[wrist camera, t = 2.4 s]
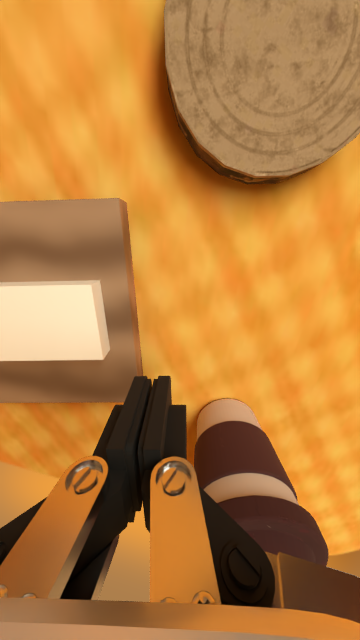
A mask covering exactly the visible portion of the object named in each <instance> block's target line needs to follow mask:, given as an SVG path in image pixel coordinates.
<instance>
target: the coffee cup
mask: <svg viewBox="0 0 360 640" xmlns="http://www.w3.org/2000/svg"><path fill="white" fill-rule="evenodd" d="M194 470H195V472H196V476H197V481H198V485H199V486H200V487H201V488H202V489H203V490H204V491H205V492H206V493H207V494H208V495H209V496H210V497H211V498H212V499H213V500H214V501H215V502H216V503H217V504H218V505H219V506H220V507H221V508H222V509H223V510H224V511H225V512H226V513H227V514H228V515H229V516H230V517H231V518H233V519H234V520H235V521H236V522H237V523H238V524H239V525H240V526H241V527H242V528H243V529H244V530H245V531H246V532H247V533H248V534H249V535H250V536H251V537H252V538H253V539H254V540H255V541H256V542H257V543H258V544H259V545H260V547H261V548H262V549H263V550H264V551H265V552H268V553H271V554H275V555H278V552H281V553H284V554H287V555H291V556H294V557H297V558H300V559H303V560H307V561H310V562H313V563H316V564H319V565H323V566H326V565H327V561H328V548H327V545H326V543H325V540H324V538H323V536H322V534H321V532H320V530H319V527H318V525H317V523H316V521H315V520H314V518H313V517H312V516H311V514H310V513H309V512H308V511H306V510H305V509H304V508H302V507H301V506H299V504H298V502H297V496H296V493H295V490H294V488H293V486H292V484H291V482H290V480H289V478H288V476H287V474H286V472H285V470H284V468H283V466H282V464H281V462H280V460H279V458H278V456H277V454H276V452H275V450H274V448H273V446H272V444H271V442H270V441H269V439H268V437H267V435H266V434H265V433H264V432H263V431H262V429H261V427H260V425H259V423H258V421H257V419H256V417H255V415H254V413H253V411H252V410H251V409H250V408H249V407H248V406H247V405H246V404H244V403H243V402H241V401H238V400H235V399H220V400H216V401H214V402H211V403H210V404H208V405H207V406H206V407H204V408H203V410H202V411H201V412H200V414H199V417H198V420H197V442H196V445H195V455H194Z"/></svg>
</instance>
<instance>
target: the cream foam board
mask: <svg viewBox="0 0 360 640" xmlns="http://www.w3.org/2000/svg"><path fill="white" fill-rule="evenodd" d="M109 351H110V346H109V339H108V332H107V326H106V319H105V312H104V305H103V298H102V292H101V285H100V280H88V281H42V282H0V361H45V360H103V359H104V358H105V357H106V355H107V354H108V352H109Z"/></svg>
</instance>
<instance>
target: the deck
mask: <svg viewBox="0 0 360 640" xmlns="http://www.w3.org/2000/svg"><path fill="white" fill-rule="evenodd" d="M88 280H100V285H101V292H102V298H103V305H104V312H105V319H106V326H107V332H108V339H109V346H110V351H109V352H108V354H107V355H106V357H105V358H104V359H103V360H45V361H0V403H71V402H125V399H126V397H127V394H128V392H129V389H130V387H131V384H132V381H133V379H134V377H135V376H143V370H142V360H141V350H140V339H139V329H138V318H137V308H136V297H135V287H134V276H133V266H132V255H131V245H130V234H129V224H128V213H127V203H126V202H124V201H123V200H121V199H119V198H108V199H77V200H46V201H14V202H0V282H42V281H88Z"/></svg>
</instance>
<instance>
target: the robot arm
mask: <svg viewBox="0 0 360 640" xmlns="http://www.w3.org/2000/svg"><path fill="white" fill-rule="evenodd" d="M186 441H187V434H186V405H172V400H171V378H170V376H159V377H158V379H154V381H153V385H152V382H151V379H147V376H135V377H134V379H133V381H132V384H131V387H130V389H129V392H128V394H127V397H126V399H125V402H124V404H123V405H115V406H114V408H113V410H112V413H111V415H110V417H109V419H108V422H107V424H106V426H105V428H104V431H103V433H102V435H101V437H100V440H99V442H98V444H97V446H96V449H95V451H94V453H93V455H92V456H88V457H84V458H82V459H80V460H78V461H76V462H75V463H73V464H72V465H71V466H69V468H68V469H67V470H66V471H65V472H64V474H63V475H62V477H61V478H60V480H59V481H58V482H57V484H56V485H55V487H54V488H53V490H52V491H51V493H50V494H49V496H48V497H46V498H45V499H43V500H42V501H40V502H39V503H38V504H36V505H35V506H33V507H32V508H30V509H29V510H27V511H26V512H25V513H23V514H21V515H20V516H18V517H17V518H15V519H14V520H12V521H11V522H10V523H8V524H7V525H5V526H4V527H2V528H1V529H0V640H360V578H359V577H357V576H355V575H351V574H348V573H345V572H342V571H339V570H335V569H332V568H329V567H326V566H323V565H319V564H316V563H313V562H310V561H307V560H303V559H300V558H297V557H294V556H291V555H287V554H284V553H281V552H278V555H275V554H271V553H268V552H265V551H264V550H263V549H262V548H261V547H260V545H259V544H258V543H257V542H256V541H255V540H254V539H253V538H252V537H251V536H250V535H249V534H248V533H247V532H246V531H245V530H244V529H243V528H242V527H241V526H240V525H239V524H238V523H237V522H236V521H235V520H234V519H233V518H231V517H230V516H229V515H228V514H227V513H226V512H225V511H224V510H223V509H222V508H221V507H220V506H219V505H218V504H217V503H216V502H215V501H214V500H213V499H212V498H211V497H210V496H209V495H208V494H207V493H206V492H205V491H204V490H203V489H202V488H201V487H200V486H199V485H198V481H197V476H196V472H195V470H194V467H193V466H192V465H191V463H190V462H188V461H187V460H186ZM142 501H143V507H144V516H145V525H146V528H147V530H148V531H149V532H150V602H132V601H130V602H129V601H101V600H98V598H99V595H100V592H101V590H102V587H103V584H104V581H105V578H106V575H107V572H108V569H109V567H110V564H111V561H112V558H113V555H114V552H115V549H116V547H117V544H118V539H119V534H120V533H121V532H122V531H123V530H124V529H125V528H126V527H127V523H128V522H134V517H135V512H136V511H140V510H141V507H142Z"/></svg>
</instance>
